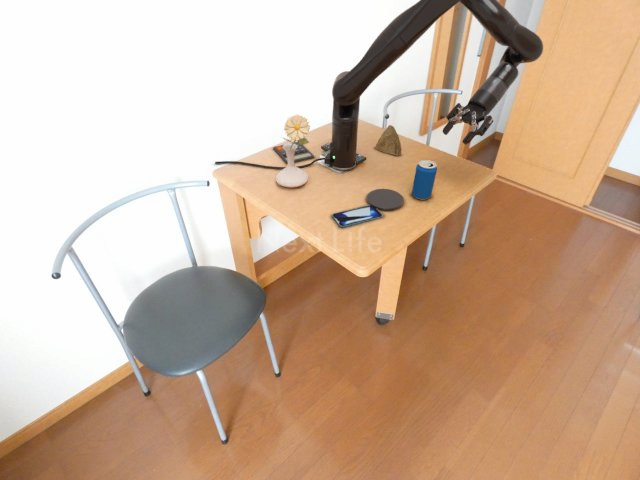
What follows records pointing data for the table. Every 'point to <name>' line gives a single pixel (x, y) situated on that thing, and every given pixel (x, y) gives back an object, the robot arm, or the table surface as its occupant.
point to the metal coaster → (385, 199)
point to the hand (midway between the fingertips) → (453, 138)
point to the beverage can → (424, 179)
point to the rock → (389, 142)
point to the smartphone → (356, 216)
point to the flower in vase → (297, 131)
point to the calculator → (299, 154)
